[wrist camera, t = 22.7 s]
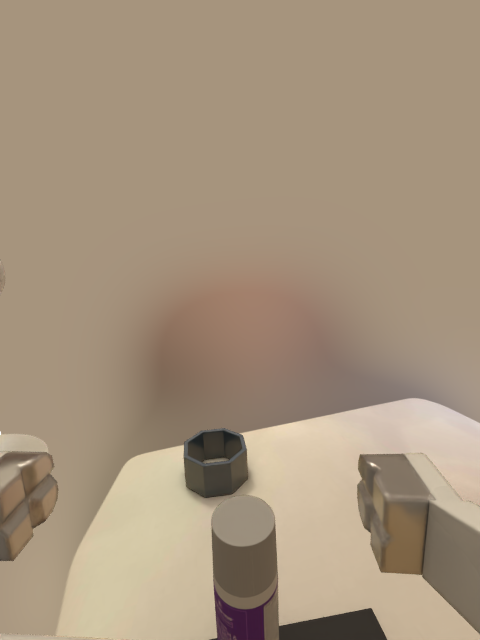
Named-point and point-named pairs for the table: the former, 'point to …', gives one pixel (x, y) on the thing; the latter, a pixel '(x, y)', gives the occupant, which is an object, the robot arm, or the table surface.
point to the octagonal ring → (218, 474)
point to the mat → (335, 628)
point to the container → (245, 569)
